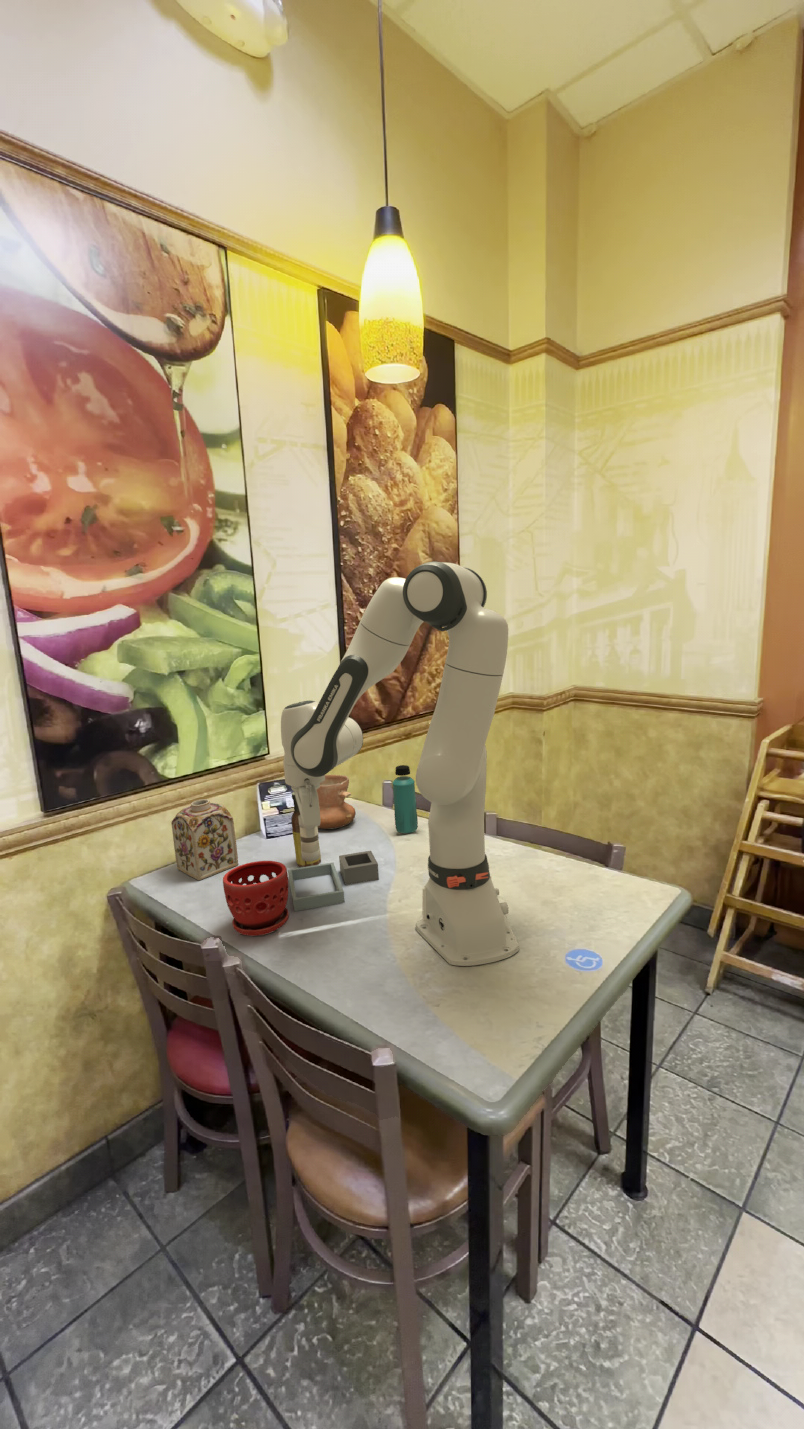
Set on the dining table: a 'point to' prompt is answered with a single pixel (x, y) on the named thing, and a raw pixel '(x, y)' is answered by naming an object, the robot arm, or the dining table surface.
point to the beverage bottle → (404, 801)
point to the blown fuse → (309, 844)
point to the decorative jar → (204, 839)
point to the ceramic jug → (334, 802)
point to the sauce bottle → (297, 837)
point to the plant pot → (257, 897)
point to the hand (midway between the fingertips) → (309, 832)
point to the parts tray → (316, 899)
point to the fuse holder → (358, 867)
